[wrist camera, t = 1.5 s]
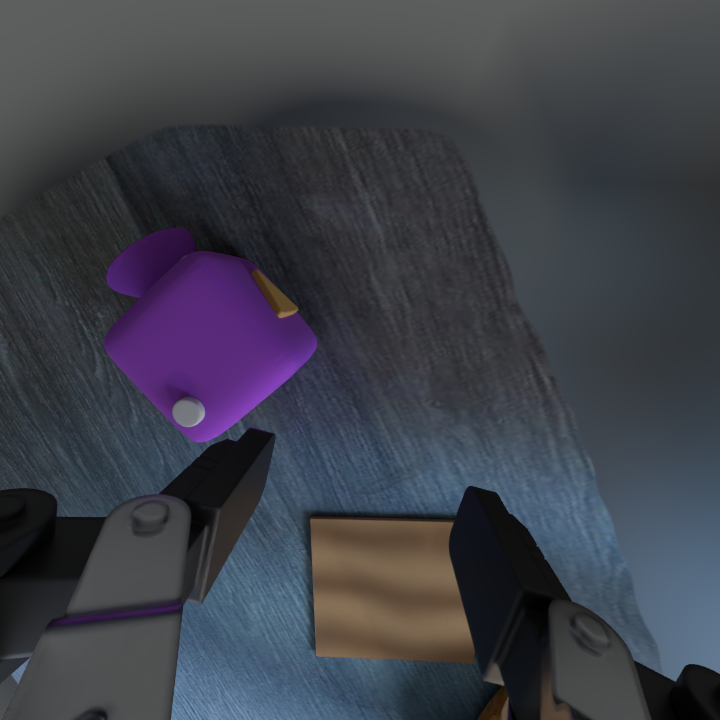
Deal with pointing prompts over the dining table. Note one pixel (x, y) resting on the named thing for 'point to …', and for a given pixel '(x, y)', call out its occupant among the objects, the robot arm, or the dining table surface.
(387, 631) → the square metal plate
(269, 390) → the toy camera
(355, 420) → the dining table surface
